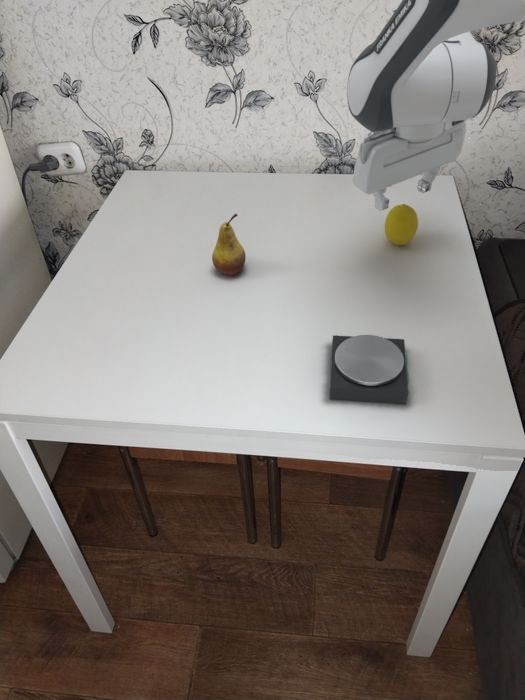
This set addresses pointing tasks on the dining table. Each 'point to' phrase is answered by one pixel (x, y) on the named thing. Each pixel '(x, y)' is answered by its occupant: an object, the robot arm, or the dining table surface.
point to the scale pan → (369, 360)
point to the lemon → (401, 224)
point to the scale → (377, 394)
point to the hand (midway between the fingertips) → (402, 199)
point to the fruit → (228, 251)
